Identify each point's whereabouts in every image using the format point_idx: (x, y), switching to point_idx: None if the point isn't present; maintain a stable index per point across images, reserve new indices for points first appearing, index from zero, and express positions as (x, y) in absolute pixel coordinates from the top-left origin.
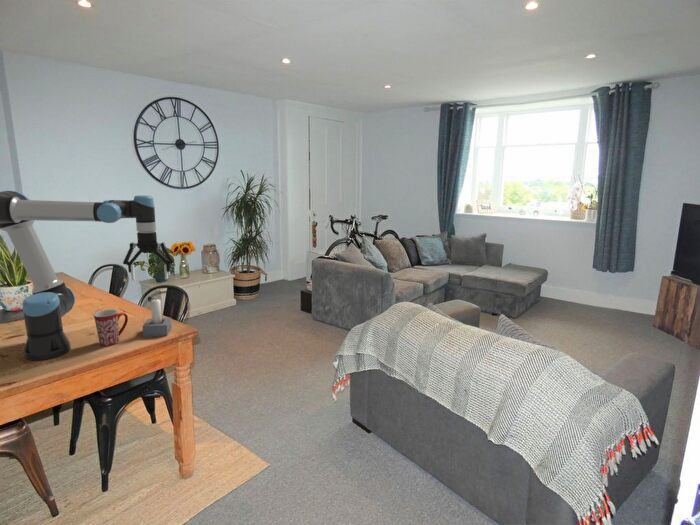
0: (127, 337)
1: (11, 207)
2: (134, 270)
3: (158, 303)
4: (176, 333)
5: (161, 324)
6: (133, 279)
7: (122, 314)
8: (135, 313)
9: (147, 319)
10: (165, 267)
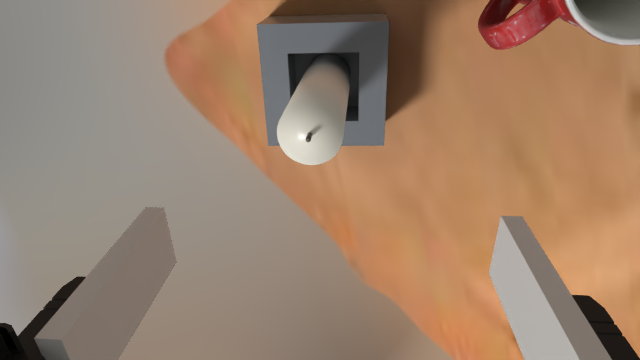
0: (464, 23)
1: None
2: (524, 345)
3: (287, 106)
4: (233, 41)
5: (289, 39)
6: (506, 223)
7: (520, 9)
8: (471, 311)
9: (383, 133)
10: (68, 310)
